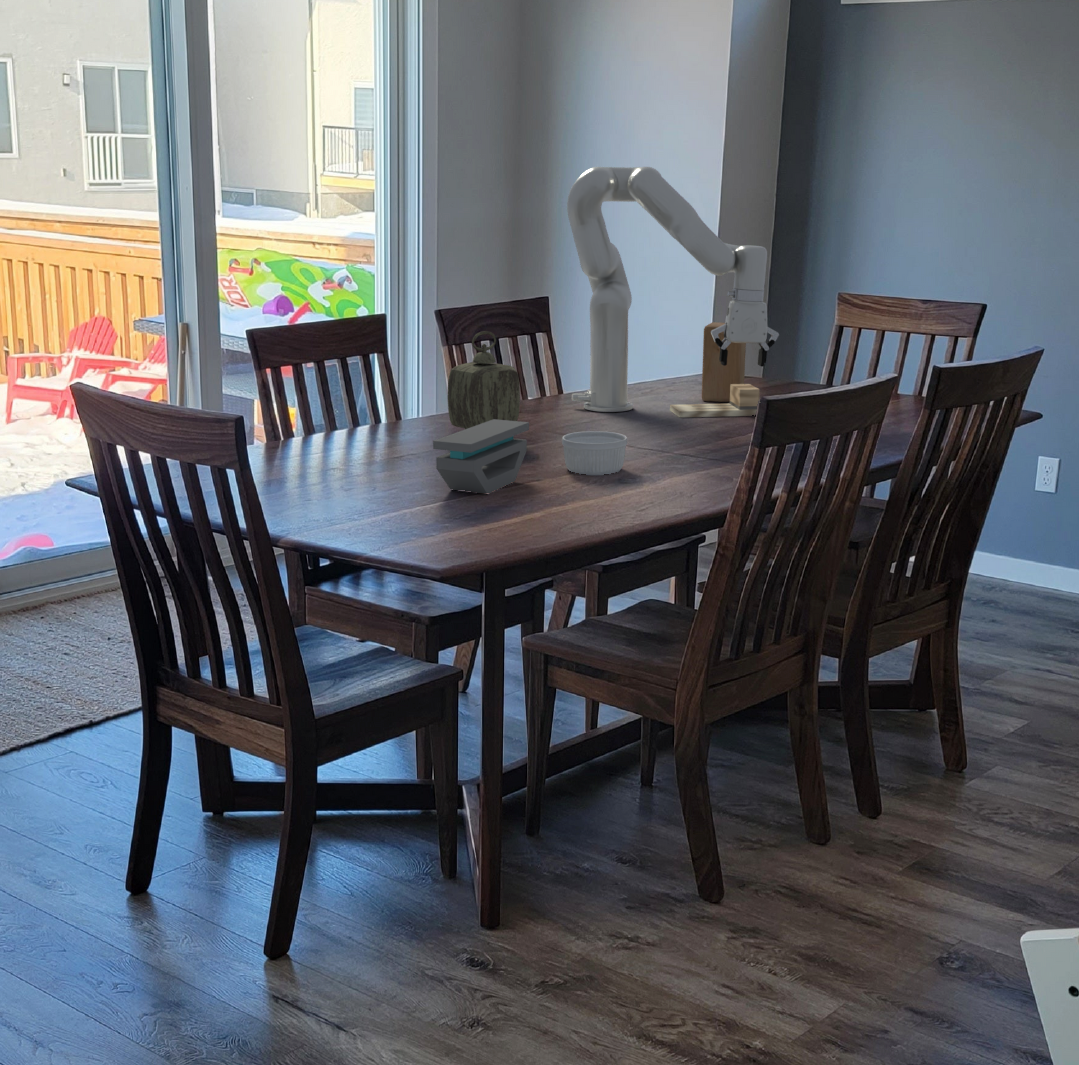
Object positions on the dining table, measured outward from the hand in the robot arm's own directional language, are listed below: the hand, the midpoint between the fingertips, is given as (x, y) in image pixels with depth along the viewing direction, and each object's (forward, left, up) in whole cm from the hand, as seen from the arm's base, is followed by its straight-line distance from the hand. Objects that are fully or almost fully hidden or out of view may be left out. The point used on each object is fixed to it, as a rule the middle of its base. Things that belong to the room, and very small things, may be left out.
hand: (742, 365), depth 342 cm
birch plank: (-5, 0, -12) cm, 13 cm away
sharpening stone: (-73, -74, -12) cm, 105 cm away
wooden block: (+1, +20, -12) cm, 23 cm away
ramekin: (-49, -62, -12) cm, 80 cm away
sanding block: (+1, 0, -10) cm, 10 cm away
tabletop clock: (-68, -32, -12) cm, 76 cm away
